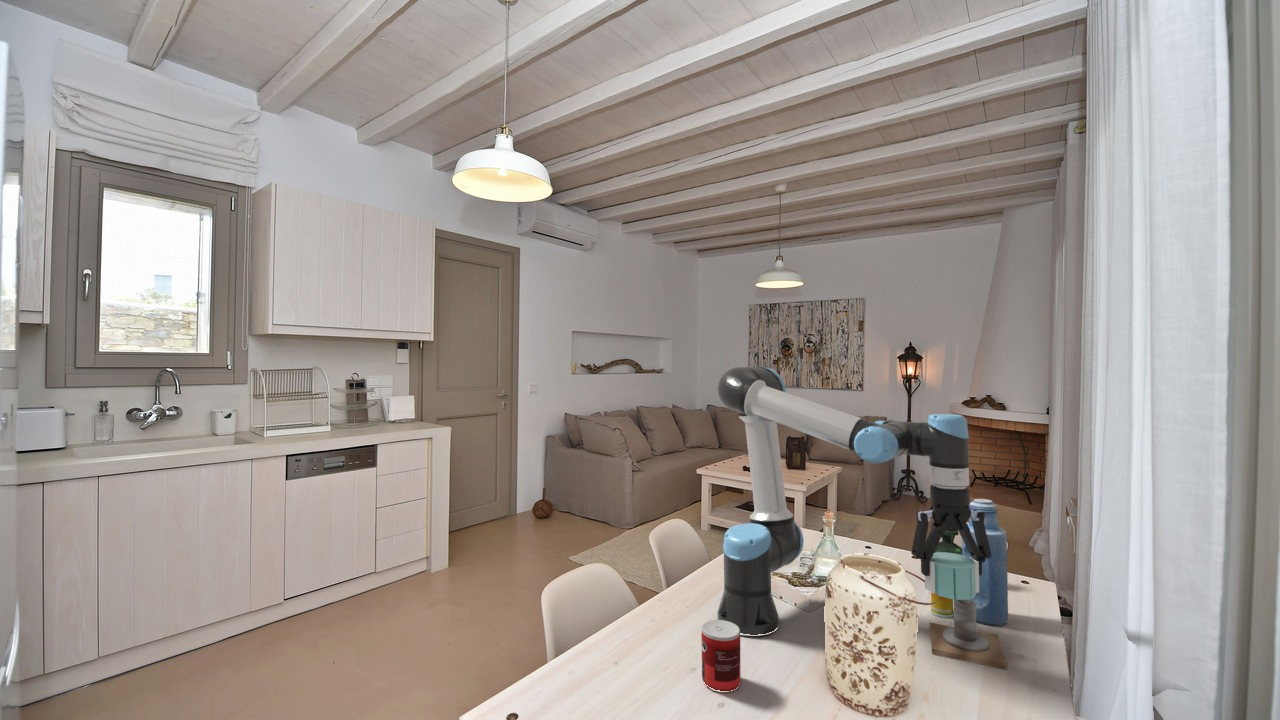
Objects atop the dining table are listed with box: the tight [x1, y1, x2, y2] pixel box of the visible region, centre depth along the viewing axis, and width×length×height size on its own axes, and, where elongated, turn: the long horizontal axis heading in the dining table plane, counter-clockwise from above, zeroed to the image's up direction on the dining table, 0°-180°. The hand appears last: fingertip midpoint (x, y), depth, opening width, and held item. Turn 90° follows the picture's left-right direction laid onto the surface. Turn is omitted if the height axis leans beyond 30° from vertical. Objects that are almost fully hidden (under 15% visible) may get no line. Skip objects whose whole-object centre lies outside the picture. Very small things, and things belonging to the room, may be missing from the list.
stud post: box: [929, 599, 1008, 670], centre depth 125 cm, size 14×14×12 cm
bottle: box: [961, 498, 1009, 627], centre depth 139 cm, size 10×10×30 cm
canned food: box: [701, 619, 741, 691], centre depth 111 cm, size 8×8×11 cm
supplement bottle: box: [929, 591, 954, 619], centre depth 142 cm, size 5×5×10 cm
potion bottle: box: [934, 529, 963, 555], centre depth 163 cm, size 8×8×18 cm
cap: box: [931, 552, 976, 600], centre depth 118 cm, size 9×9×7 cm
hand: (951, 590), depth 118 cm, fingers closed on cap, 9 cm apart
